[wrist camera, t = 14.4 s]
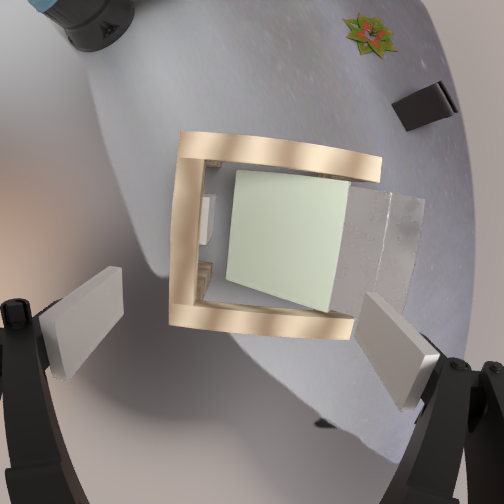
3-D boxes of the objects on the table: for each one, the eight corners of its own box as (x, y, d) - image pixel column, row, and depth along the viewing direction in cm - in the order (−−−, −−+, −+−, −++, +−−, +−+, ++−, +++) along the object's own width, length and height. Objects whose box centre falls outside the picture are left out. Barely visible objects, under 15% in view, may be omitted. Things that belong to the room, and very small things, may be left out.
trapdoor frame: (194, 276, 55) (168, 324, 36) (205, 149, 49) (180, 131, 30) (318, 288, 55) (349, 339, 36) (336, 164, 50) (382, 157, 31)
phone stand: (420, 89, 46) (453, 74, 35) (435, 115, 48) (470, 105, 36) (390, 104, 47) (422, 89, 36) (406, 131, 49) (440, 122, 37)
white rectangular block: (206, 245, 44) (213, 234, 53) (209, 197, 43) (216, 194, 51) (170, 241, 44) (182, 231, 53) (172, 194, 42) (185, 192, 51)
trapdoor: (426, 197, 32) (425, 194, 27) (401, 316, 36) (395, 333, 31) (259, 173, 46) (236, 169, 41) (248, 272, 49) (225, 279, 44)
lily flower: (355, 63, 46) (363, 55, 42) (332, 15, 43) (338, 4, 39) (404, 58, 45) (414, 51, 41) (381, 12, 43) (389, 3, 38)
